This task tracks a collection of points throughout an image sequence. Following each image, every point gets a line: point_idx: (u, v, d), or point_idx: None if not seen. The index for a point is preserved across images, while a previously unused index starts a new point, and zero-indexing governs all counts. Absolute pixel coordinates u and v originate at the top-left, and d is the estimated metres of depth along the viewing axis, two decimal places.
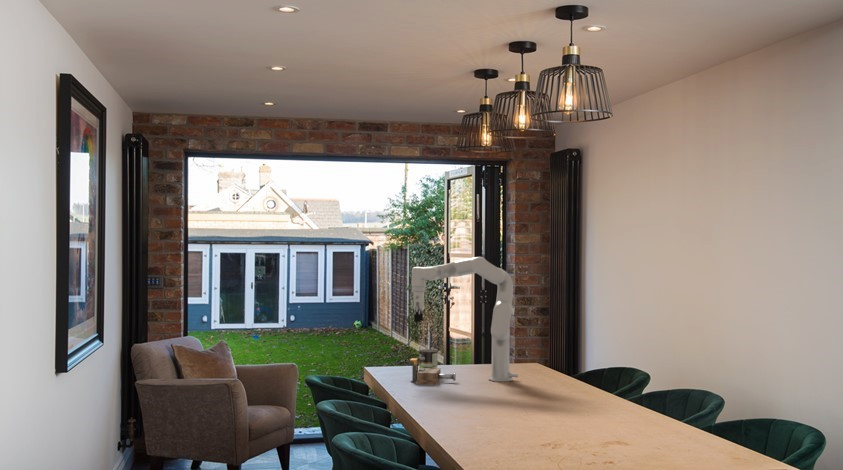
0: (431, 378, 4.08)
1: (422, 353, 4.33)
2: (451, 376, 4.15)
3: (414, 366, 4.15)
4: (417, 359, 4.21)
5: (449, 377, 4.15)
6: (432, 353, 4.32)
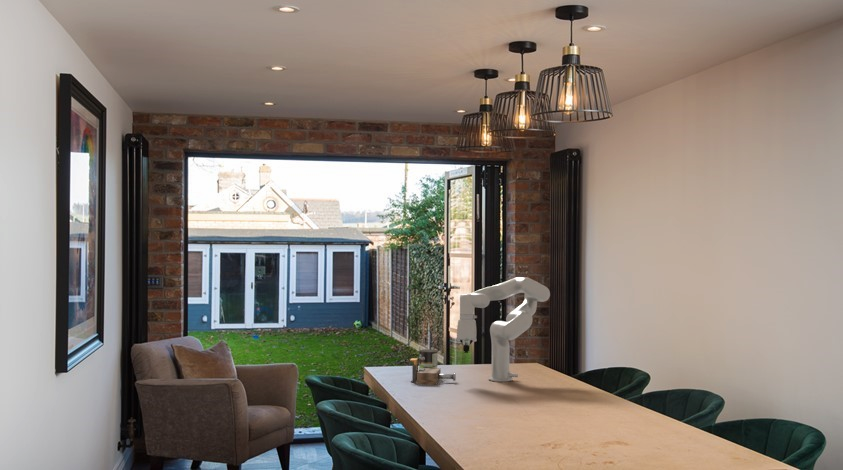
0: (431, 378, 4.08)
1: (422, 353, 4.33)
2: (451, 376, 4.15)
3: (414, 366, 4.15)
4: (417, 359, 4.21)
5: (449, 377, 4.15)
6: (432, 353, 4.32)
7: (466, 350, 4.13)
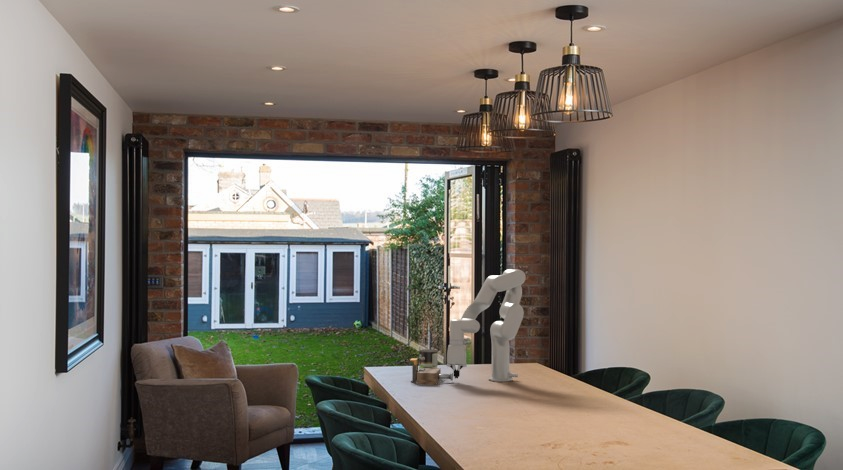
0: (431, 378, 4.08)
1: (422, 353, 4.33)
2: (448, 376, 4.15)
3: (414, 366, 4.15)
4: (417, 359, 4.21)
5: (446, 377, 4.15)
6: (432, 353, 4.32)
7: (456, 375, 4.14)
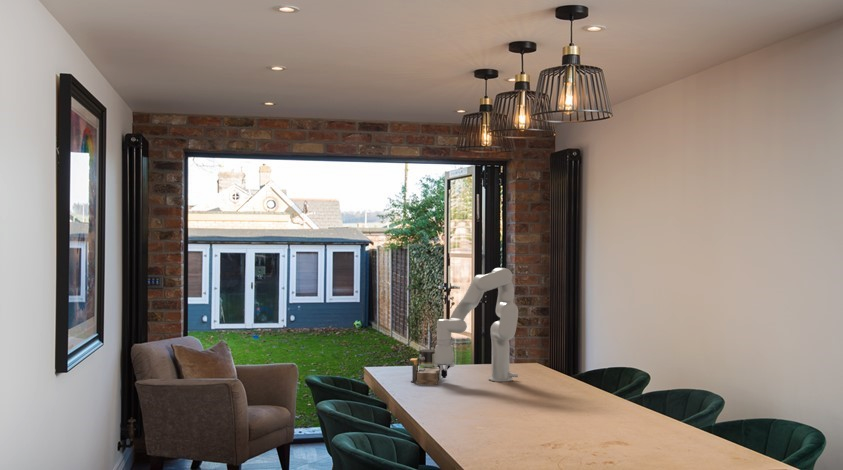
0: (431, 378, 4.08)
1: (422, 353, 4.33)
2: None
3: (414, 366, 4.15)
4: (417, 359, 4.21)
5: None
6: (432, 353, 4.32)
7: (444, 375, 4.15)
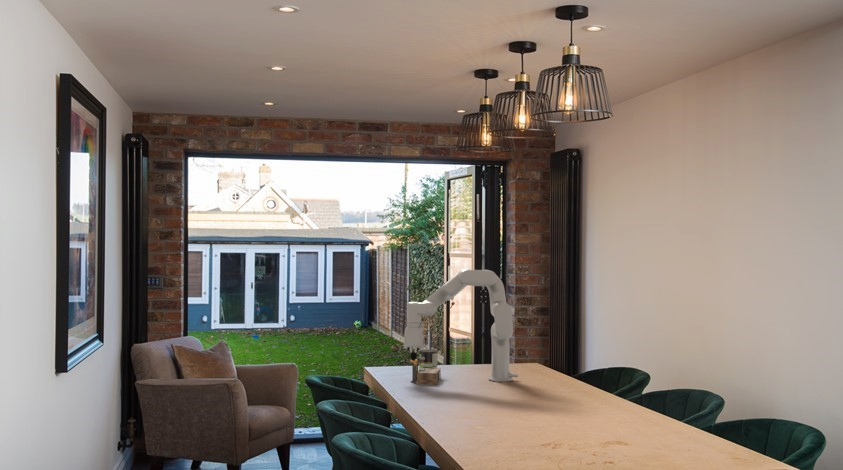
0: (431, 378, 4.08)
1: (422, 353, 4.33)
2: None
3: (414, 366, 4.15)
4: (417, 360, 4.21)
5: None
6: (432, 353, 4.32)
7: (413, 358, 4.17)
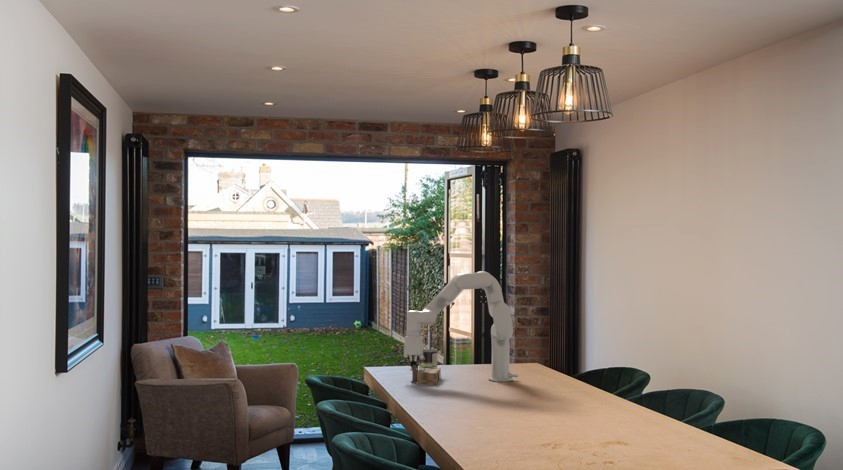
0: (431, 378, 4.08)
1: None
2: None
3: (414, 366, 4.15)
4: (417, 368, 4.21)
5: None
6: (432, 353, 4.32)
7: None
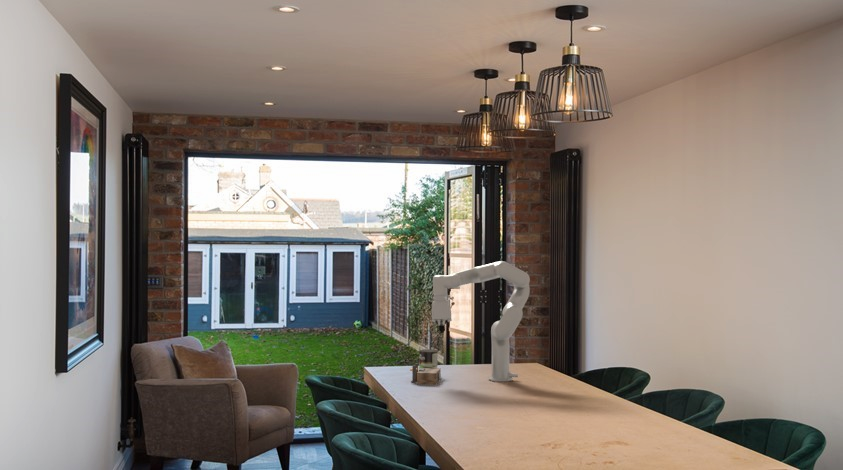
0: (431, 378, 4.08)
1: (422, 353, 4.33)
2: None
3: (414, 366, 4.15)
4: (417, 369, 4.21)
5: None
6: (432, 353, 4.32)
7: (442, 330, 4.21)
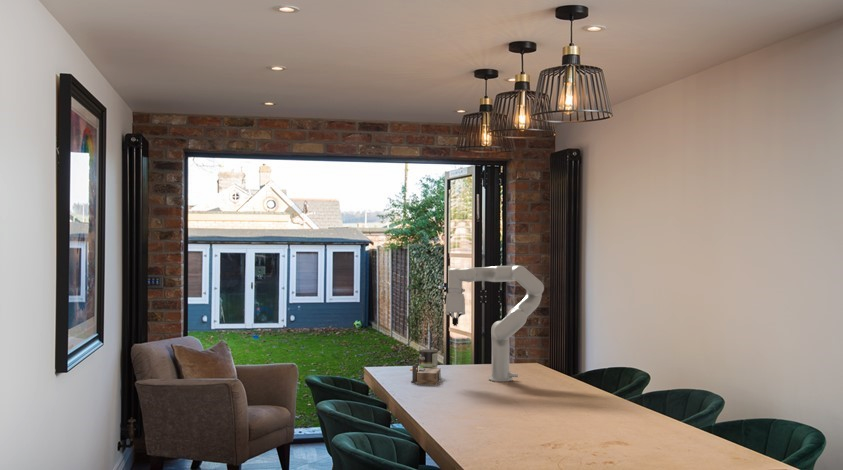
0: (431, 378, 4.08)
1: (422, 353, 4.33)
2: None
3: (414, 366, 4.15)
4: (417, 369, 4.21)
5: None
6: (432, 353, 4.32)
7: (455, 323, 4.22)
